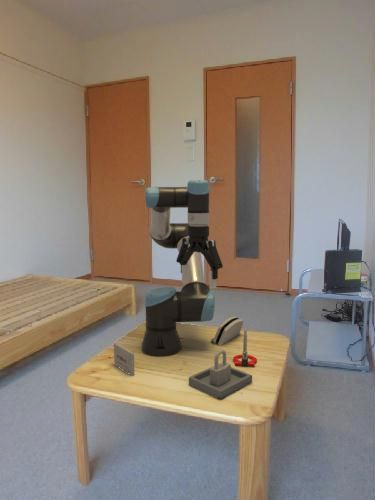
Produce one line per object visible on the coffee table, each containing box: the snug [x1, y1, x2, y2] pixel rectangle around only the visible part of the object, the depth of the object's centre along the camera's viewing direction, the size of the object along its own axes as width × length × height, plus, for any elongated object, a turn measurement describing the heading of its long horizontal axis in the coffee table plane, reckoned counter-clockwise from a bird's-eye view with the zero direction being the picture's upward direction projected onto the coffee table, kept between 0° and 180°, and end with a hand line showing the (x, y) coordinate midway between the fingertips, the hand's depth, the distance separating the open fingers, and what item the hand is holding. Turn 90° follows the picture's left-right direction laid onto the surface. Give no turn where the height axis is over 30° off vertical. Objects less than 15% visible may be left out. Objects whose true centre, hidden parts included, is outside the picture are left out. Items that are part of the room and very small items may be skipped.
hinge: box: [209, 316, 244, 346], centre depth 162 cm, size 17×5×10 cm, turn 145°
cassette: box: [113, 342, 135, 376], centre depth 134 cm, size 12×2×8 cm, turn 39°
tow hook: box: [232, 329, 258, 368], centre depth 140 cm, size 8×13×9 cm
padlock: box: [209, 349, 232, 386], centre depth 123 cm, size 7×4×10 cm, turn 138°
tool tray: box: [188, 366, 253, 401], centre depth 123 cm, size 13×15×2 cm
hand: (198, 285), depth 140 cm, fingers open, 13 cm apart
